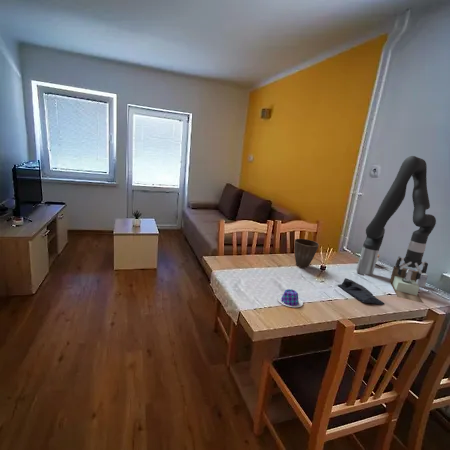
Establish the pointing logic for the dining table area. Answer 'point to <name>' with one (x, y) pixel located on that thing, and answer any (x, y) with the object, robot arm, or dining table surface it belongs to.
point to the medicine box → (422, 280)
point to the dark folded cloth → (359, 292)
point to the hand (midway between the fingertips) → (407, 277)
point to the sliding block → (405, 286)
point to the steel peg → (408, 276)
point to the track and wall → (402, 294)
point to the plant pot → (304, 252)
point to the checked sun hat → (290, 298)
